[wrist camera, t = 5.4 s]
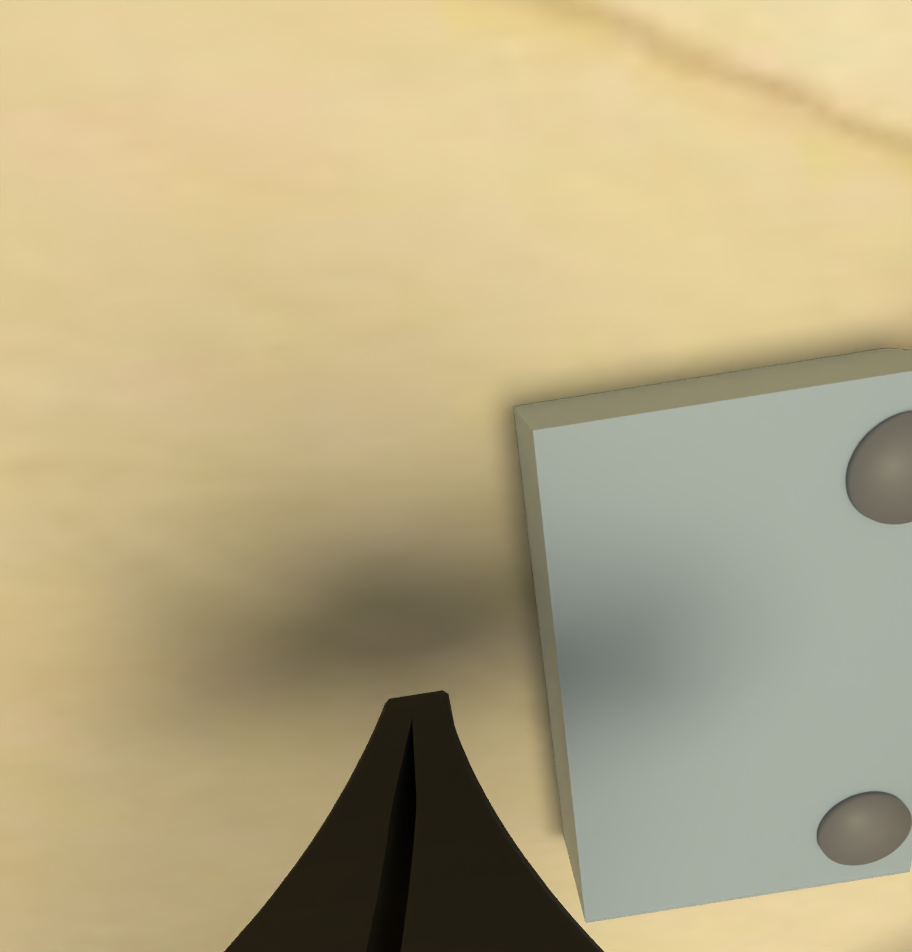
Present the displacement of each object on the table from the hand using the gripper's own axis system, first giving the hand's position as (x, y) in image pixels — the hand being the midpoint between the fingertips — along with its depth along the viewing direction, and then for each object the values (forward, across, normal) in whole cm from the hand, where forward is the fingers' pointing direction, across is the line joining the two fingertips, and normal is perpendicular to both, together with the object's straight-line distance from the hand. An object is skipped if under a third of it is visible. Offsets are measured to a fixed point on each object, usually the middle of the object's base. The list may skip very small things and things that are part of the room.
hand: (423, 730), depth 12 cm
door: (+3, -8, +1) cm, 8 cm away
